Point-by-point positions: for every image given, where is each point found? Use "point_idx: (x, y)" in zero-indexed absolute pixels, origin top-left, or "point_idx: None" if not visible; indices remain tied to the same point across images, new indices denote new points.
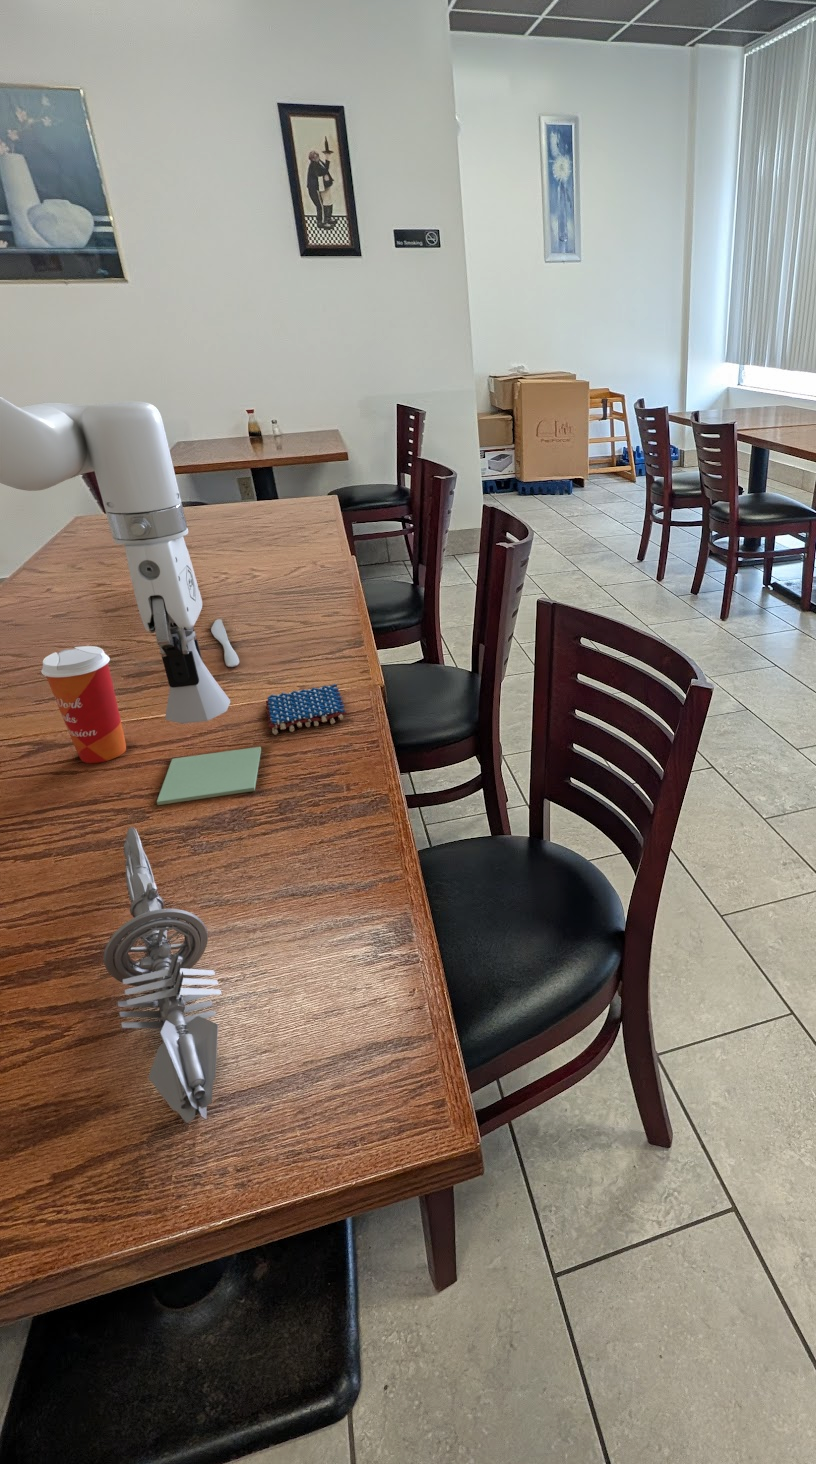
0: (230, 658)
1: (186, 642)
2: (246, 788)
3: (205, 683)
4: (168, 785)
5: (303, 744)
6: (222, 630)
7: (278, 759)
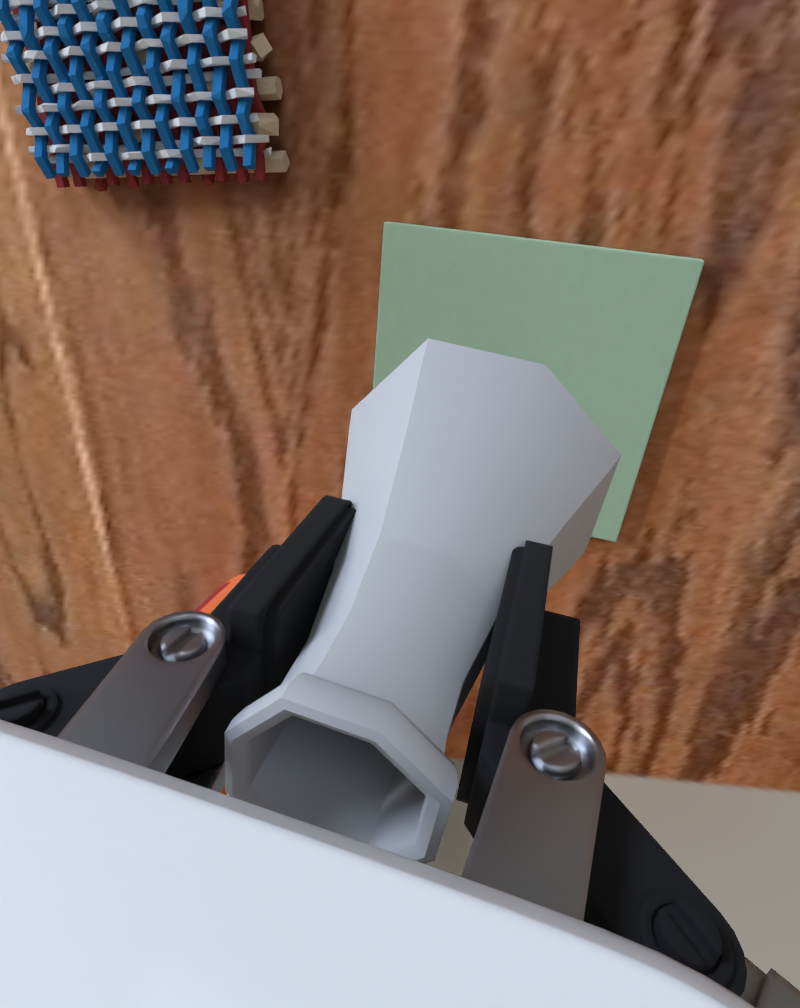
0: None
1: (529, 786)
2: (695, 288)
3: (507, 496)
4: None
5: (403, 39)
6: None
7: (489, 156)
